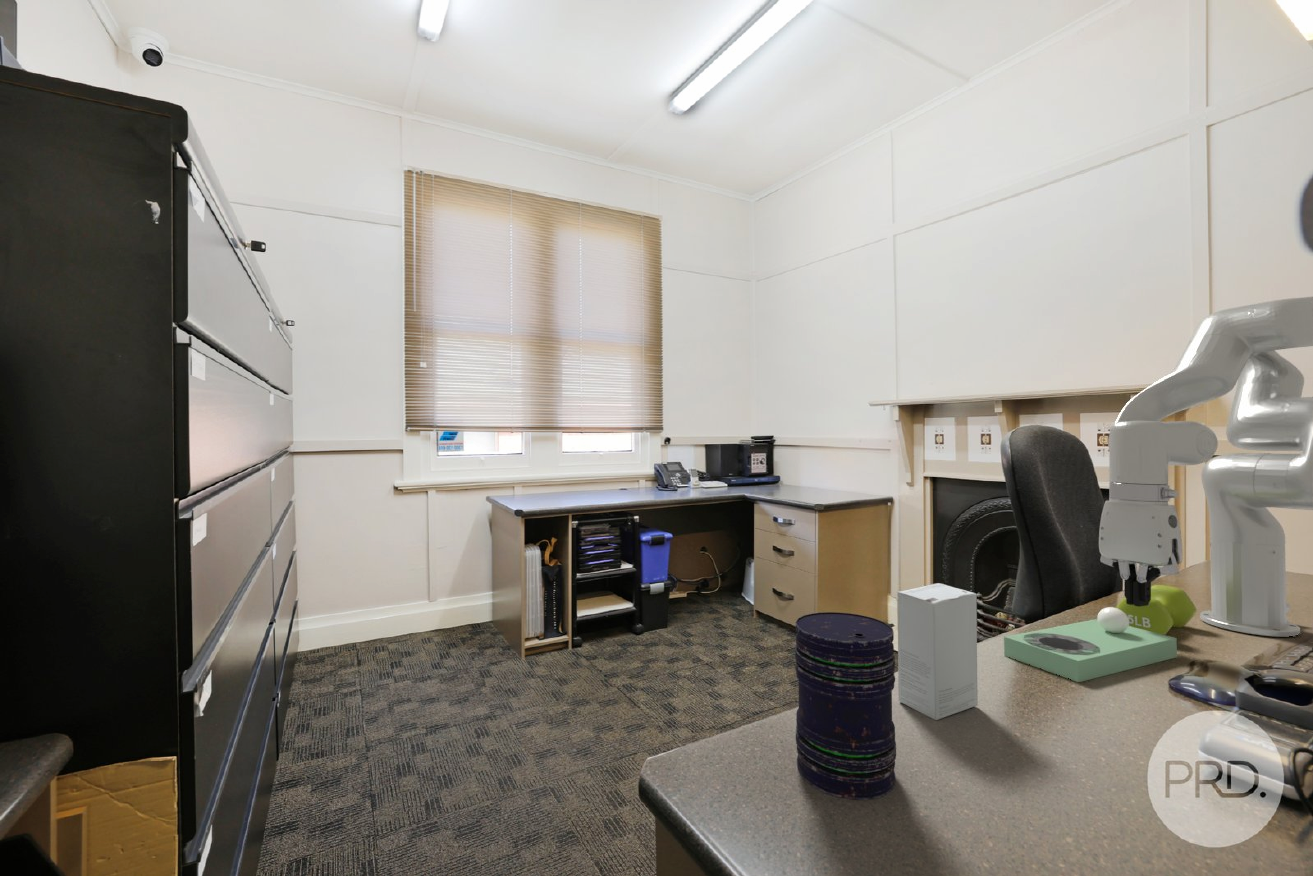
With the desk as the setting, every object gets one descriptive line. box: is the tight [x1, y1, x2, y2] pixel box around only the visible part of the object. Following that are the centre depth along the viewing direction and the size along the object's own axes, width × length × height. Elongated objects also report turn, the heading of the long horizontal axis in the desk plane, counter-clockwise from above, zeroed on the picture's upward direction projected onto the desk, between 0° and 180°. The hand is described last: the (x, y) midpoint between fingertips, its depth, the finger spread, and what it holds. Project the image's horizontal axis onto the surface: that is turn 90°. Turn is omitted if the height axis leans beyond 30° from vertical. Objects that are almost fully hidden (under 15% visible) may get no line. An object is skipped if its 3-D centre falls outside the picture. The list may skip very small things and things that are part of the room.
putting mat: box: [1003, 618, 1178, 683], centre depth 89 cm, size 24×11×3 cm, turn 112°
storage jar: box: [794, 611, 897, 801], centre depth 59 cm, size 10×10×15 cm
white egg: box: [1097, 606, 1129, 633], centre depth 92 cm, size 4×4×4 cm
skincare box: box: [896, 582, 979, 721], centre depth 73 cm, size 8×6×15 cm
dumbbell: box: [1115, 584, 1197, 635], centre depth 101 cm, size 16×8×7 cm, turn 123°
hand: (1137, 604), depth 94 cm, fingers closed
